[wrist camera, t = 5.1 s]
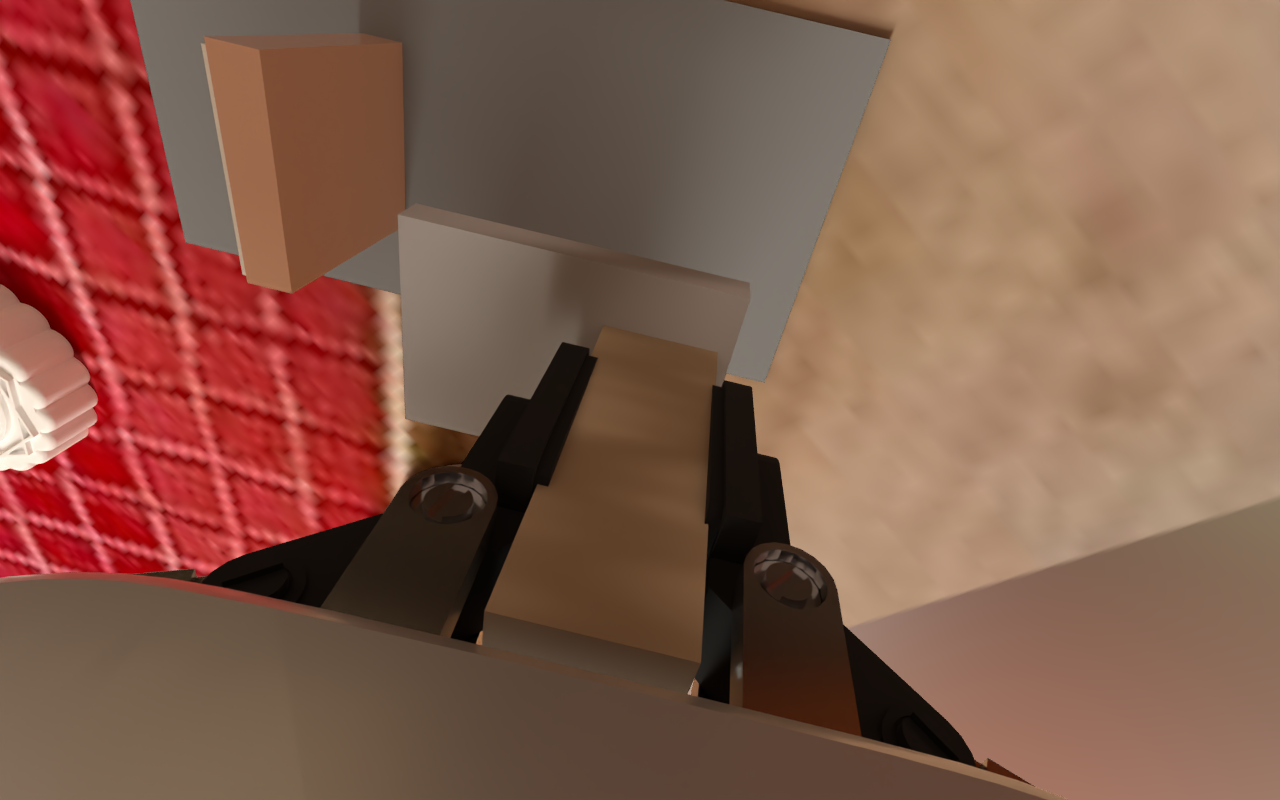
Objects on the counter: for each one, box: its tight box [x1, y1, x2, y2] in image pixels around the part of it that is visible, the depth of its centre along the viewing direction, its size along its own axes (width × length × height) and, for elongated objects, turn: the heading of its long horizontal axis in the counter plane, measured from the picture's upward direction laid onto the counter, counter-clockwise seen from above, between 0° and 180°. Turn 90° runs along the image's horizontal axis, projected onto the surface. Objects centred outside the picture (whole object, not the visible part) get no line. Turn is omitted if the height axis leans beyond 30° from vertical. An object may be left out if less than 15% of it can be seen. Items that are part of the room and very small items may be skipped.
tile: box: [201, 33, 405, 294], centre depth 21 cm, size 2×7×8 cm, turn 169°
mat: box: [130, 0, 891, 382], centre depth 24 cm, size 28×14×1 cm, turn 79°
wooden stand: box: [398, 204, 751, 694], centre depth 10 cm, size 7×5×8 cm
